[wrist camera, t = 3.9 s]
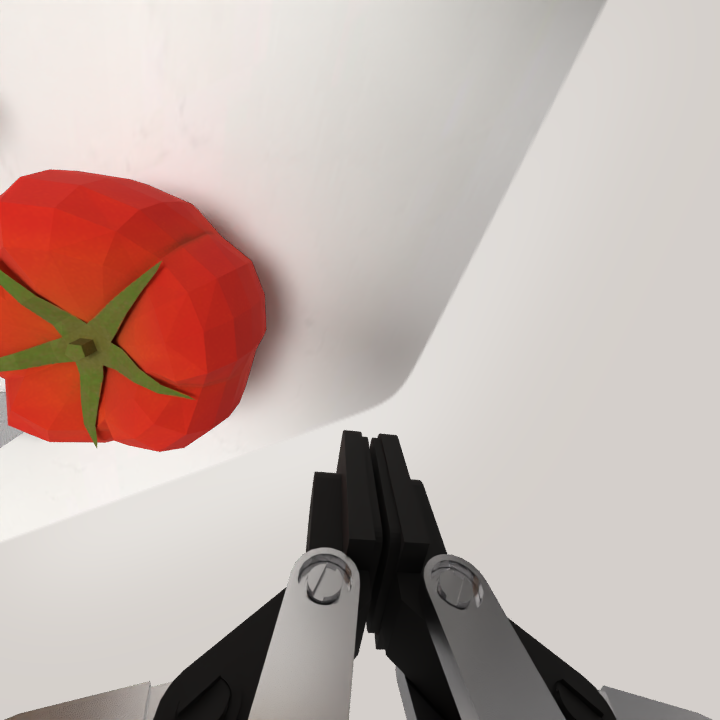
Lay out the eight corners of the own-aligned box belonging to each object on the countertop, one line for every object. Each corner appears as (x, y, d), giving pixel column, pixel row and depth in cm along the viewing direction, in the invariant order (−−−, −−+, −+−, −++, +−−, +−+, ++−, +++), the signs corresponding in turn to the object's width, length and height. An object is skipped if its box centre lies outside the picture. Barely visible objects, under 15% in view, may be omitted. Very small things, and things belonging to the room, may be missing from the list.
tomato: (19, 245, 21) (-251, 269, 11) (205, 142, 20) (76, 68, 10) (160, 417, 26) (55, 535, 16) (316, 344, 25) (303, 426, 15)
